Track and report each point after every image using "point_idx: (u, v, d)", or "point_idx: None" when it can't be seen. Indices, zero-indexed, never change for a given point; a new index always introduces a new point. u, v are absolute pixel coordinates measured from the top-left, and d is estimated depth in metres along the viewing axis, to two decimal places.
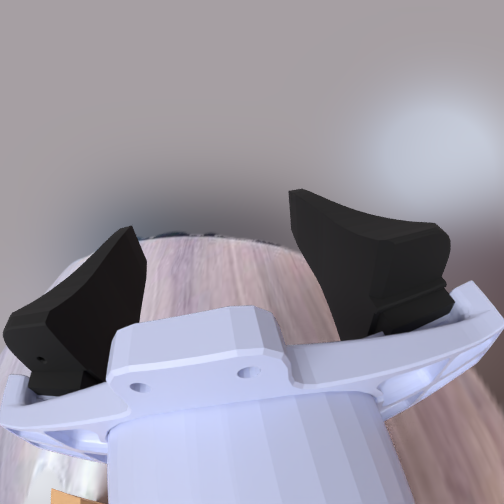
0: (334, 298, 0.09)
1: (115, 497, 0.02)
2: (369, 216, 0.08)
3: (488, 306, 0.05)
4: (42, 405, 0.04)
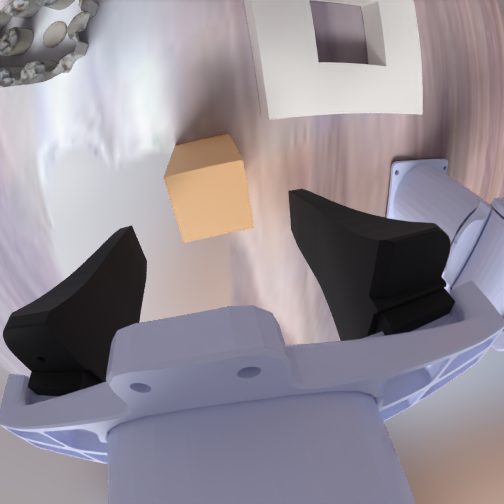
0: (334, 298, 0.09)
1: (115, 497, 0.02)
2: (369, 216, 0.08)
3: (488, 306, 0.05)
4: (42, 405, 0.04)
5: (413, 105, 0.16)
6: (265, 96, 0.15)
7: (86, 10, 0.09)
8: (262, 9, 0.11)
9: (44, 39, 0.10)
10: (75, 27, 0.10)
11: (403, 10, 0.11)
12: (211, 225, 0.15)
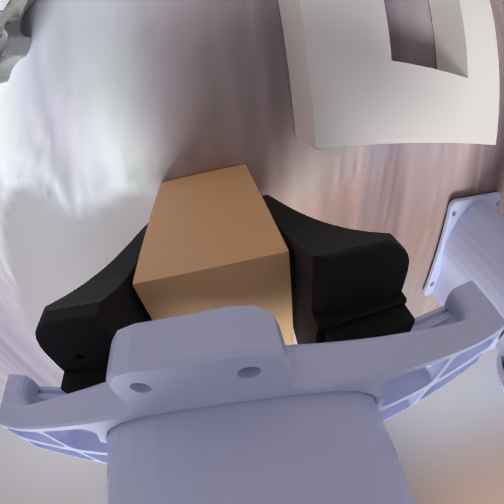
0: (292, 309, 0.09)
1: (115, 497, 0.02)
2: (323, 225, 0.08)
3: (488, 306, 0.05)
4: (42, 405, 0.04)
5: (489, 133, 0.10)
6: (310, 109, 0.09)
7: None
8: None
9: None
10: (8, 15, 0.04)
11: (481, 6, 0.05)
12: None
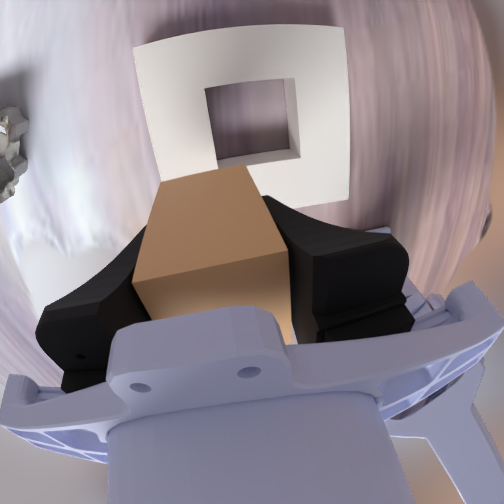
0: (292, 309, 0.09)
1: (115, 497, 0.02)
2: (324, 225, 0.08)
3: (488, 306, 0.05)
4: (42, 405, 0.04)
5: (336, 192, 0.19)
6: None
7: (16, 136, 0.12)
8: (156, 123, 0.14)
9: None
10: (11, 153, 0.13)
11: (330, 80, 0.14)
12: None
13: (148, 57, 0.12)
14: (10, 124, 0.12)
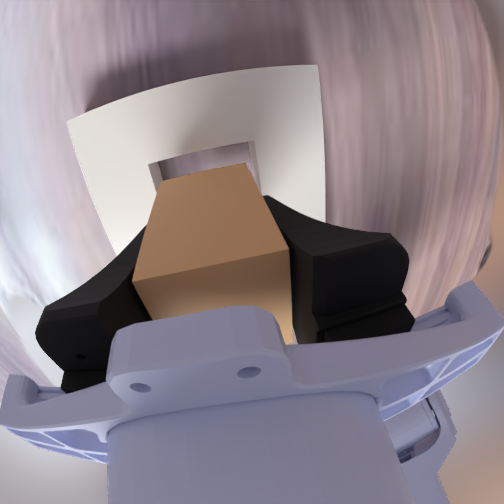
0: (292, 309, 0.09)
1: (115, 497, 0.02)
2: (324, 225, 0.08)
3: (488, 306, 0.05)
4: (42, 405, 0.04)
5: None
6: None
7: None
8: (104, 205, 0.13)
9: None
10: None
11: (299, 138, 0.13)
12: None
13: (83, 131, 0.11)
14: None
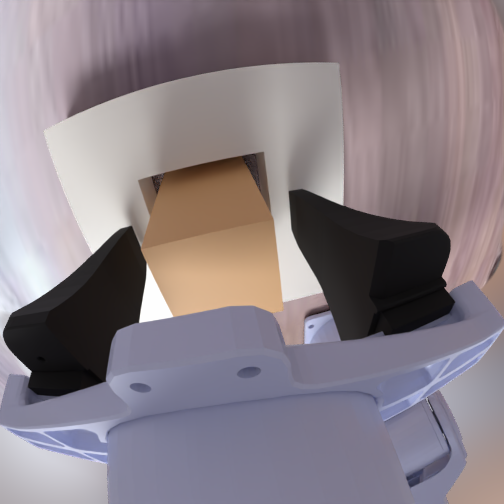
0: (334, 298, 0.09)
1: (115, 497, 0.02)
2: (369, 216, 0.08)
3: (488, 306, 0.05)
4: (42, 405, 0.04)
5: None
6: None
7: None
8: (89, 226, 0.11)
9: None
10: None
11: (317, 149, 0.11)
12: None
13: (62, 142, 0.09)
14: None
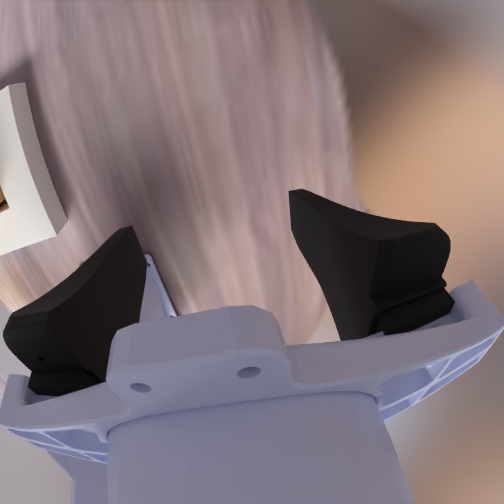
0: (334, 298, 0.09)
1: (115, 497, 0.02)
2: (369, 216, 0.08)
3: (488, 306, 0.05)
4: (42, 405, 0.04)
5: (44, 231, 0.17)
6: None
7: None
8: None
9: None
10: None
11: (6, 139, 0.12)
12: None
13: None
14: None
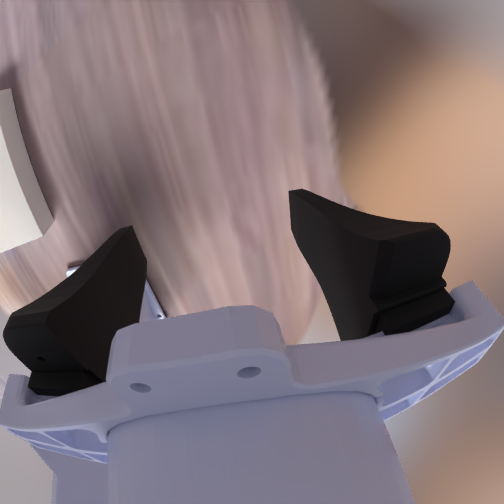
0: (334, 298, 0.09)
1: (115, 497, 0.02)
2: (369, 216, 0.08)
3: (488, 306, 0.05)
4: (42, 405, 0.04)
5: (31, 232, 0.17)
6: None
7: None
8: None
9: None
10: None
11: None
12: None
13: None
14: None
